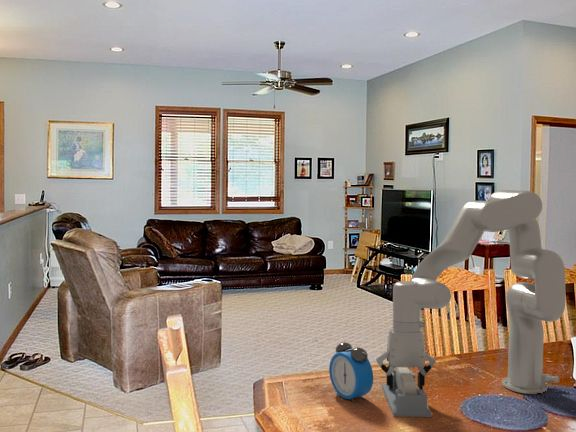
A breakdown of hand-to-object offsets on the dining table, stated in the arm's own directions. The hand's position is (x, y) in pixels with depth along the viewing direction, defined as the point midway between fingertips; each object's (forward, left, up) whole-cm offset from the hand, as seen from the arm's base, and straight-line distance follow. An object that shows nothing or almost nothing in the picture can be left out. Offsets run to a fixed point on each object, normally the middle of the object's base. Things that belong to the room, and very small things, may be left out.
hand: (405, 387), depth 155 cm
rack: (0, 0, -4) cm, 4 cm away
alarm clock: (+15, -3, -4) cm, 16 cm away
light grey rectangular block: (0, 0, -3) cm, 3 cm away
